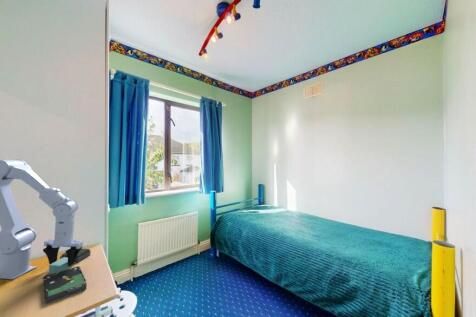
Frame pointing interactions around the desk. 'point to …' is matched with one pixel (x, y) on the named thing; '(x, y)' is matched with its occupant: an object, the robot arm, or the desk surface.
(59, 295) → the disk drive
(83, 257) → the stand
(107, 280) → the desk surface
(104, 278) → the desk surface
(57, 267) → the block
